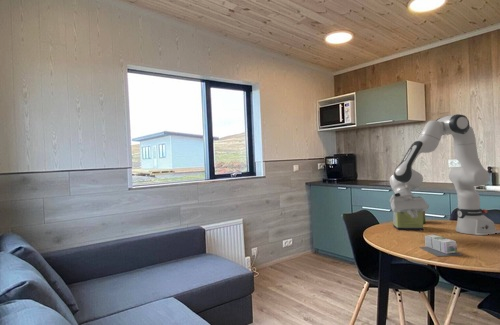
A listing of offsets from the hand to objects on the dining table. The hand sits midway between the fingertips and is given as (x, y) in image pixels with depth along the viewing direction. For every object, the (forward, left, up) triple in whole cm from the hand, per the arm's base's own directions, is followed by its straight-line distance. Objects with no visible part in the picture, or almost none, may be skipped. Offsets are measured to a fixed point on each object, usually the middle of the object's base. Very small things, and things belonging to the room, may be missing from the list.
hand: (415, 217), depth 177 cm
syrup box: (0, +12, -10) cm, 15 cm away
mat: (0, +21, -13) cm, 25 cm away
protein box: (-11, -28, -13) cm, 33 cm away
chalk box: (-26, -44, -13) cm, 52 cm away
